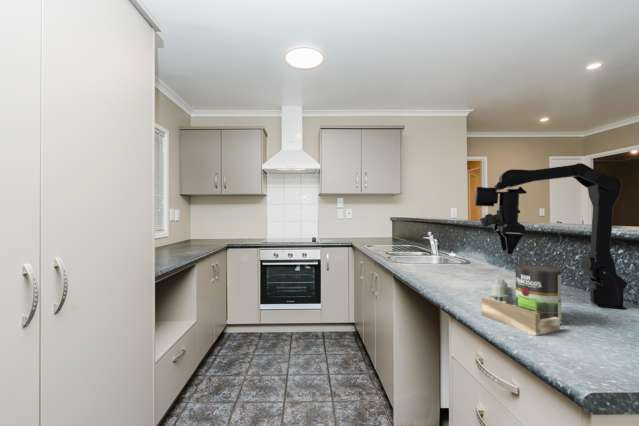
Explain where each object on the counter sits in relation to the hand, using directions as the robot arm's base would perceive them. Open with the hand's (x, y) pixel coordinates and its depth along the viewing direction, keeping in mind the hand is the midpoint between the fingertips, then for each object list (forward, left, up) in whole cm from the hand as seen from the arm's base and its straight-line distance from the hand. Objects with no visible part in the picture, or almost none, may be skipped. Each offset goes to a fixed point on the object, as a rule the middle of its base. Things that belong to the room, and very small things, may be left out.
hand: (506, 252), depth 102 cm
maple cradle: (+1, +26, -15) cm, 30 cm away
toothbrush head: (+2, -2, -16) cm, 16 cm away
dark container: (-5, +20, -16) cm, 26 cm away
